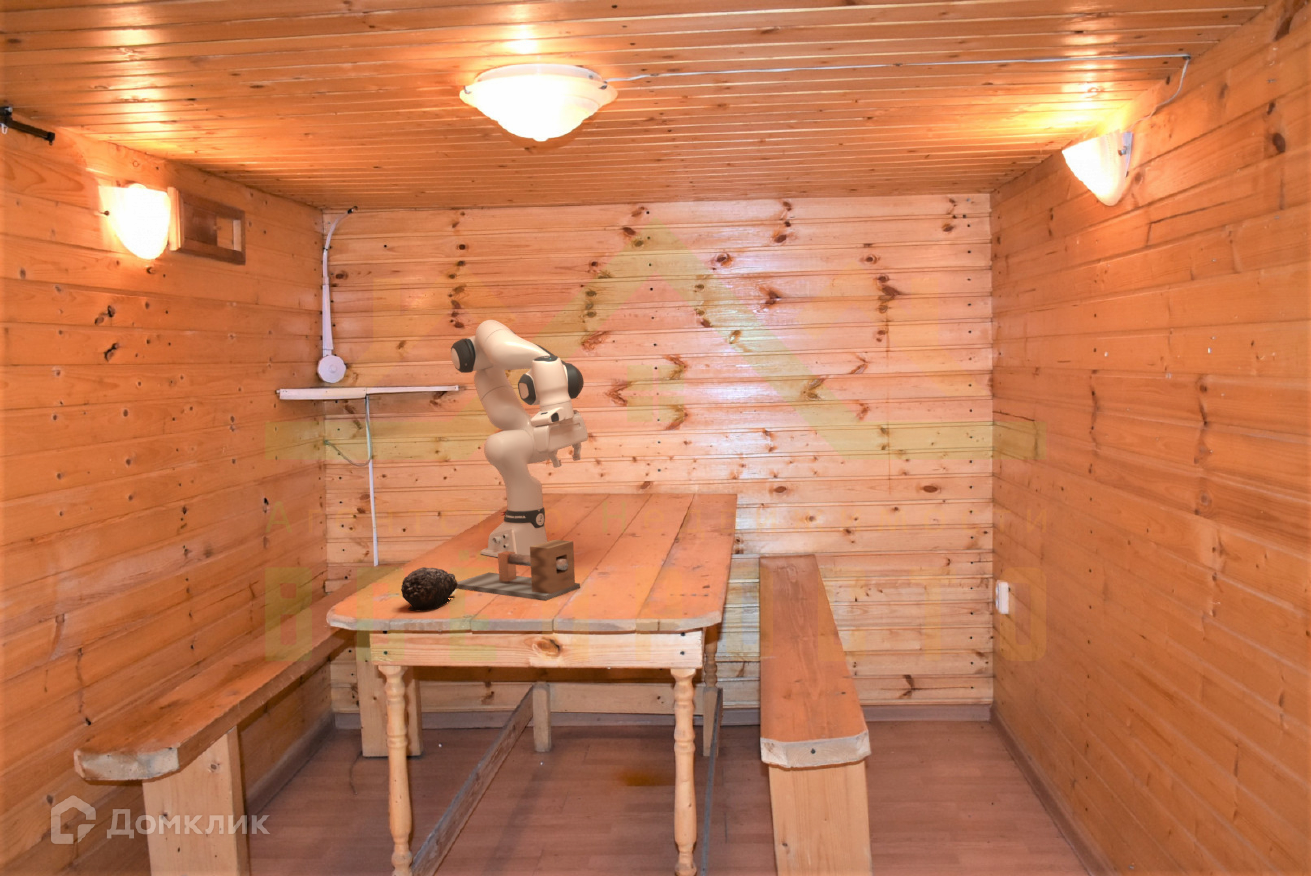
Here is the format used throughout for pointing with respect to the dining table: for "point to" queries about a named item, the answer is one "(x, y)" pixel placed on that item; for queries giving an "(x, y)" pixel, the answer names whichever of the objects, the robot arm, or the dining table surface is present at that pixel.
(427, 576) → the pine cone
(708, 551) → the dining table surface
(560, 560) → the hook rod
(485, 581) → the eye post
